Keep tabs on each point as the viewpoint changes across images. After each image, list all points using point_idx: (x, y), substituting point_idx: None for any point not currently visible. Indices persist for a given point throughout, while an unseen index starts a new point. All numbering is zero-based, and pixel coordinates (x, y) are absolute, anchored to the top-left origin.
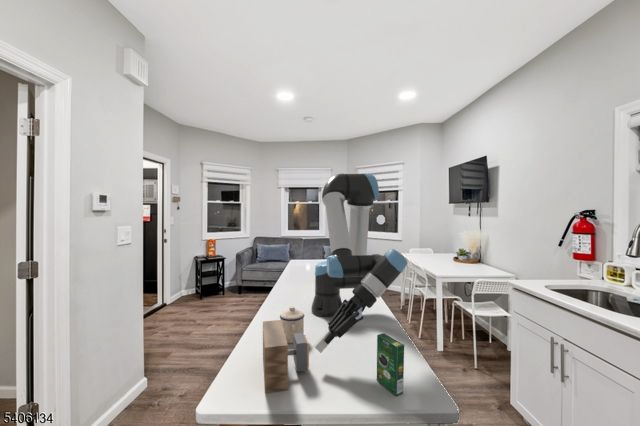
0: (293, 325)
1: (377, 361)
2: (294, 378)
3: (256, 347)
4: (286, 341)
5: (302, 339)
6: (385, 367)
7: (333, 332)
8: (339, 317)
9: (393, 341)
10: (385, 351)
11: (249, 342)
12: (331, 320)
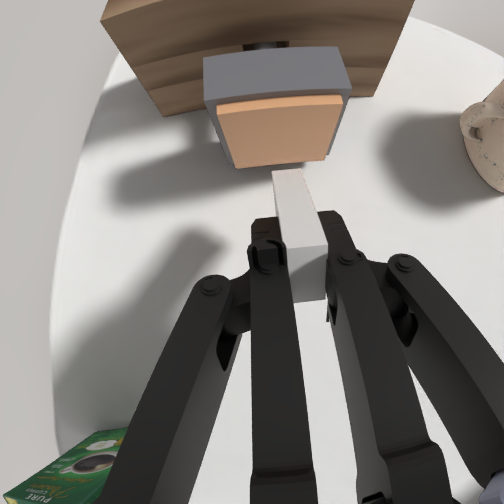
0: (491, 106)
1: None
2: None
3: (419, 44)
4: (135, 7)
5: (252, 78)
6: (94, 453)
7: (248, 280)
8: (361, 378)
9: None
10: (61, 481)
11: (442, 36)
12: (418, 285)
